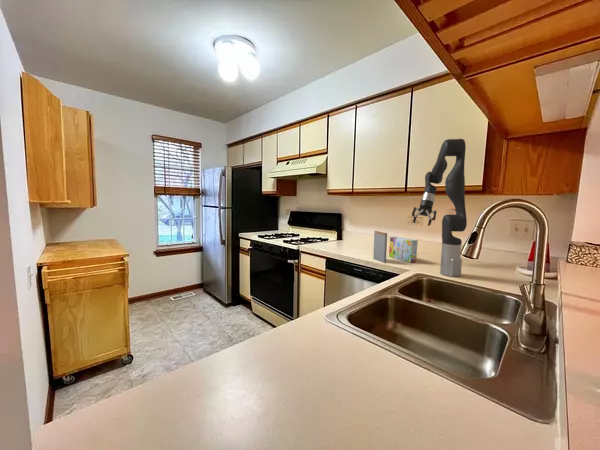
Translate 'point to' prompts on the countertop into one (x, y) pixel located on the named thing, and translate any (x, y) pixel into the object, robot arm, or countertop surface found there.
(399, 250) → the snack box
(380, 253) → the board
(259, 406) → the countertop surface
